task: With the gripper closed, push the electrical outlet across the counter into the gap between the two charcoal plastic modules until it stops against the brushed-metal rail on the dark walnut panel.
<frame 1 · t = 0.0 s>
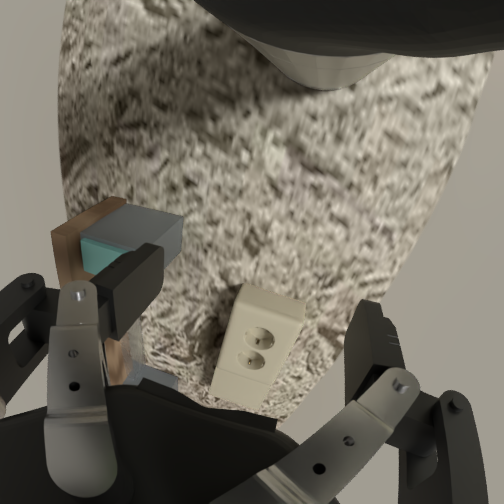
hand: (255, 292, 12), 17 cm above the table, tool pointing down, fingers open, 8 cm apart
metal rail: (135, 311, 39), on the table
module 2: (152, 226, 32), on the table
mounting panel: (124, 307, 39), on the table
module 1: (157, 376, 45), on the table
electrical outlet: (254, 345, 37), on the table
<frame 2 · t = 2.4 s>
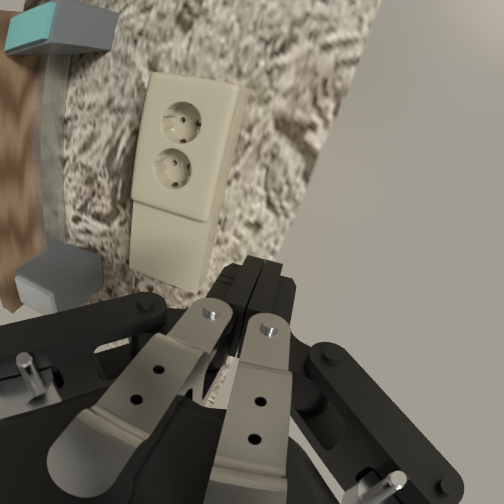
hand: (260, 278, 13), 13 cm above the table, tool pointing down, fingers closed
metal rail: (58, 153, 28), on the table
module 2: (88, 35, 21), on the table
mounting panel: (49, 152, 28), on the table
module 1: (80, 262, 33), on the table
electrical outlet: (189, 179, 27), on the table
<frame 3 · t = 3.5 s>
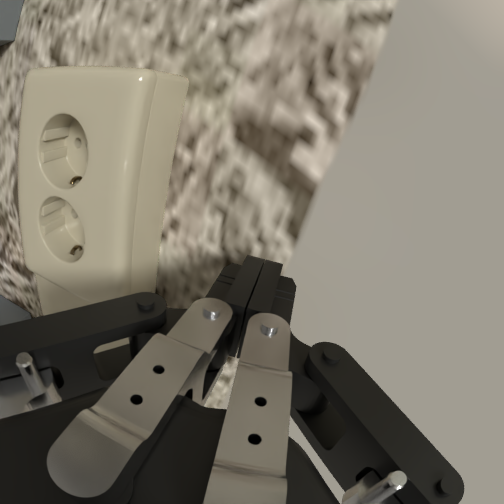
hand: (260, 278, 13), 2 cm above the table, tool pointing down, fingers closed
module 1: (13, 316, 23), on the table
electrical outlet: (110, 232, 16), on the table
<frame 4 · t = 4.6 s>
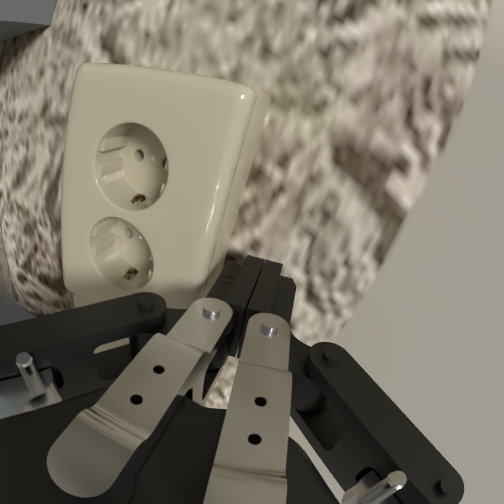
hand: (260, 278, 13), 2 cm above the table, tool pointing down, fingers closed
module 2: (25, 8, 10), on the table
module 1: (36, 330, 22), on the table
electrical outlet: (160, 250, 16), on the table, touching gripper
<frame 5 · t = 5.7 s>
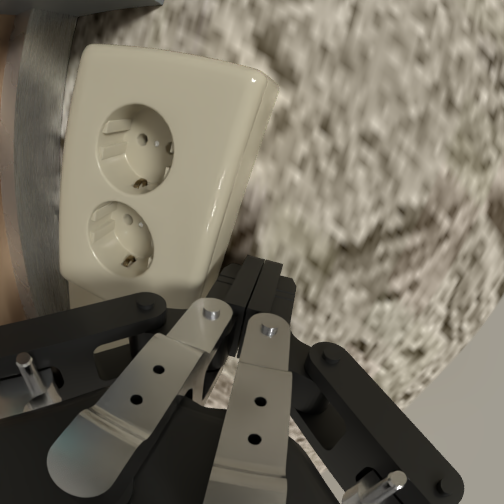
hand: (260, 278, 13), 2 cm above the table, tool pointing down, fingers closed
metal rail: (52, 200, 16), on the table
mounting panel: (35, 195, 16), on the table
electrical outlet: (159, 239, 16), on the table, touching gripper
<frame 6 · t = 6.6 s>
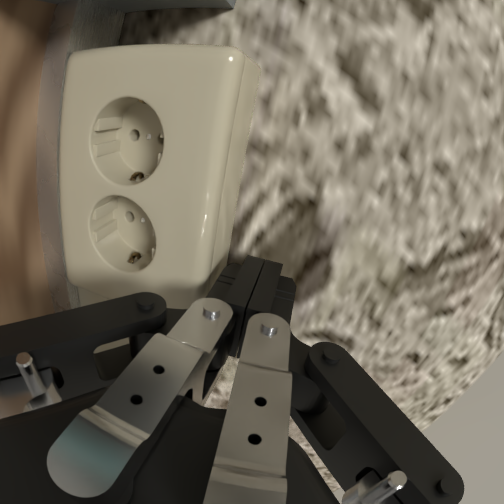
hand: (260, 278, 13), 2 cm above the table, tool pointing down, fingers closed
metal rail: (93, 215, 15), on the table
mounting panel: (71, 209, 16), on the table
electrical outlet: (165, 237, 16), on the table, touching gripper, metal rail
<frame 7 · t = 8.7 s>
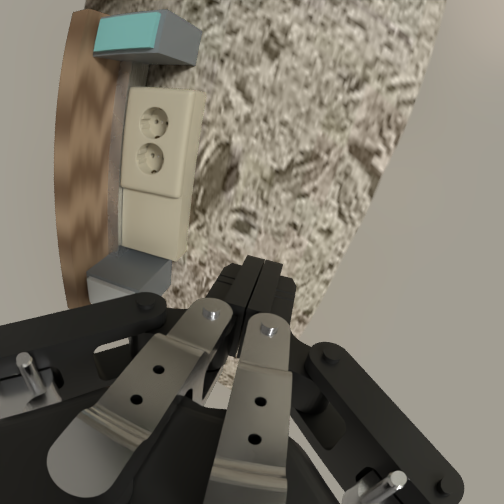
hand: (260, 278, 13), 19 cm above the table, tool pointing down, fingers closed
metal rail: (131, 158, 32), on the table
module 2: (168, 47, 26), on the table
mounting panel: (119, 156, 32), on the table
module 1: (146, 263, 38), on the table
electrical outlet: (166, 169, 33), on the table
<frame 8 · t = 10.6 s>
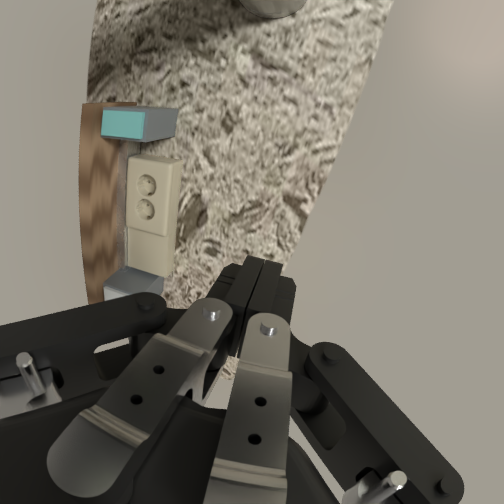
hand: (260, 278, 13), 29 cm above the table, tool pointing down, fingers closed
metal rail: (132, 201, 46), on the table
module 2: (154, 120, 40), on the table
mounting panel: (124, 199, 46), on the table
module 1: (145, 275, 51), on the table
electrical outlet: (158, 212, 46), on the table
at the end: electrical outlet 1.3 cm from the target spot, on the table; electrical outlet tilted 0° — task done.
